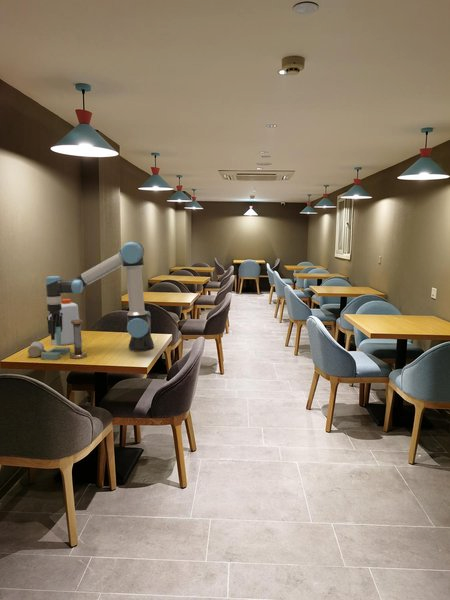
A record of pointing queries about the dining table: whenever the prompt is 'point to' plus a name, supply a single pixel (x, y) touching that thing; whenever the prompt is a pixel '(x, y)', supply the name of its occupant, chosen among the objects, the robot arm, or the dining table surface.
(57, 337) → the peg
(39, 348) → the ceramic mug
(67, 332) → the plastic bottle
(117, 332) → the dining table surface
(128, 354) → the dining table surface
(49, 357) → the teal z-shaped block
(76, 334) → the bobbin
